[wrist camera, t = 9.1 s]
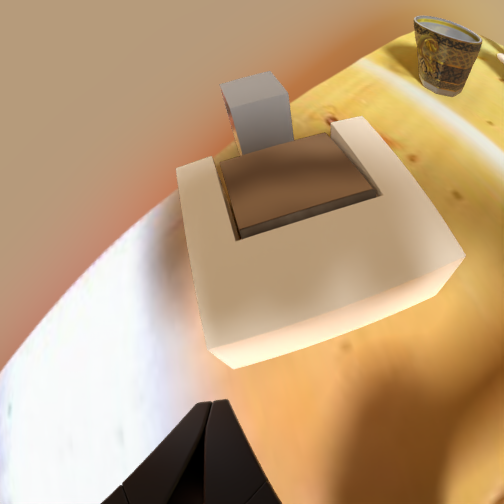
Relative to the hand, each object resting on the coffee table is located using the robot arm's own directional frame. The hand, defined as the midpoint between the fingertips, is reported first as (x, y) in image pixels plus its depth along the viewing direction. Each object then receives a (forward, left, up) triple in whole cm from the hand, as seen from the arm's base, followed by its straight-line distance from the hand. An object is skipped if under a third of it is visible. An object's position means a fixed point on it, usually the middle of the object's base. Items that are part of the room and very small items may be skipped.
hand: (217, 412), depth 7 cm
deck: (+11, -6, -13) cm, 18 cm away
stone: (+24, -6, -9) cm, 27 cm away
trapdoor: (+15, -6, -9) cm, 18 cm away
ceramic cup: (+30, -34, -14) cm, 48 cm away
